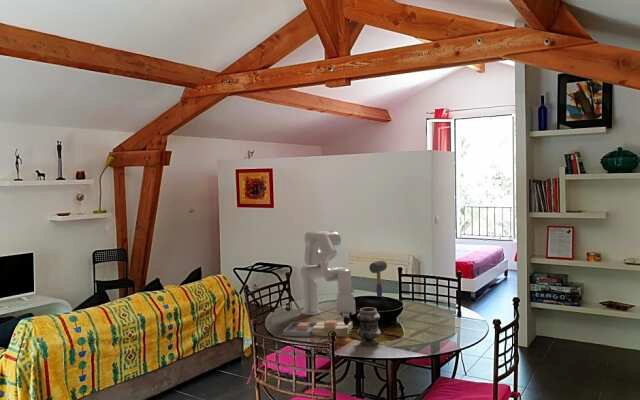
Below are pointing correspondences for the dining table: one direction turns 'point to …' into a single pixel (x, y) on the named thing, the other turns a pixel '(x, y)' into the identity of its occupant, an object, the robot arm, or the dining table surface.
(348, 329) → the cream slotted tray
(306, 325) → the tile
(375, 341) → the apothecary jar
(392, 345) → the dining table surface
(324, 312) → the dining table surface
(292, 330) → the tray
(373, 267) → the rubber mallet
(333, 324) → the tile
